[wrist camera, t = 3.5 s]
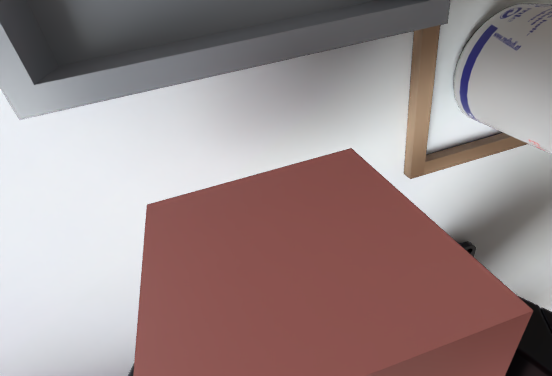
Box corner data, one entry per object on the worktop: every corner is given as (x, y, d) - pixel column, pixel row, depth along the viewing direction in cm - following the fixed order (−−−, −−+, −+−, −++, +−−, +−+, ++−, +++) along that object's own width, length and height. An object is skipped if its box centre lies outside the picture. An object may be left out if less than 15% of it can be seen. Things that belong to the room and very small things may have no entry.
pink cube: (355, 282, 11) (467, 460, 7) (205, 334, 10) (232, 566, 6) (351, 148, 8) (533, 310, 4) (146, 204, 8) (126, 468, 3)
